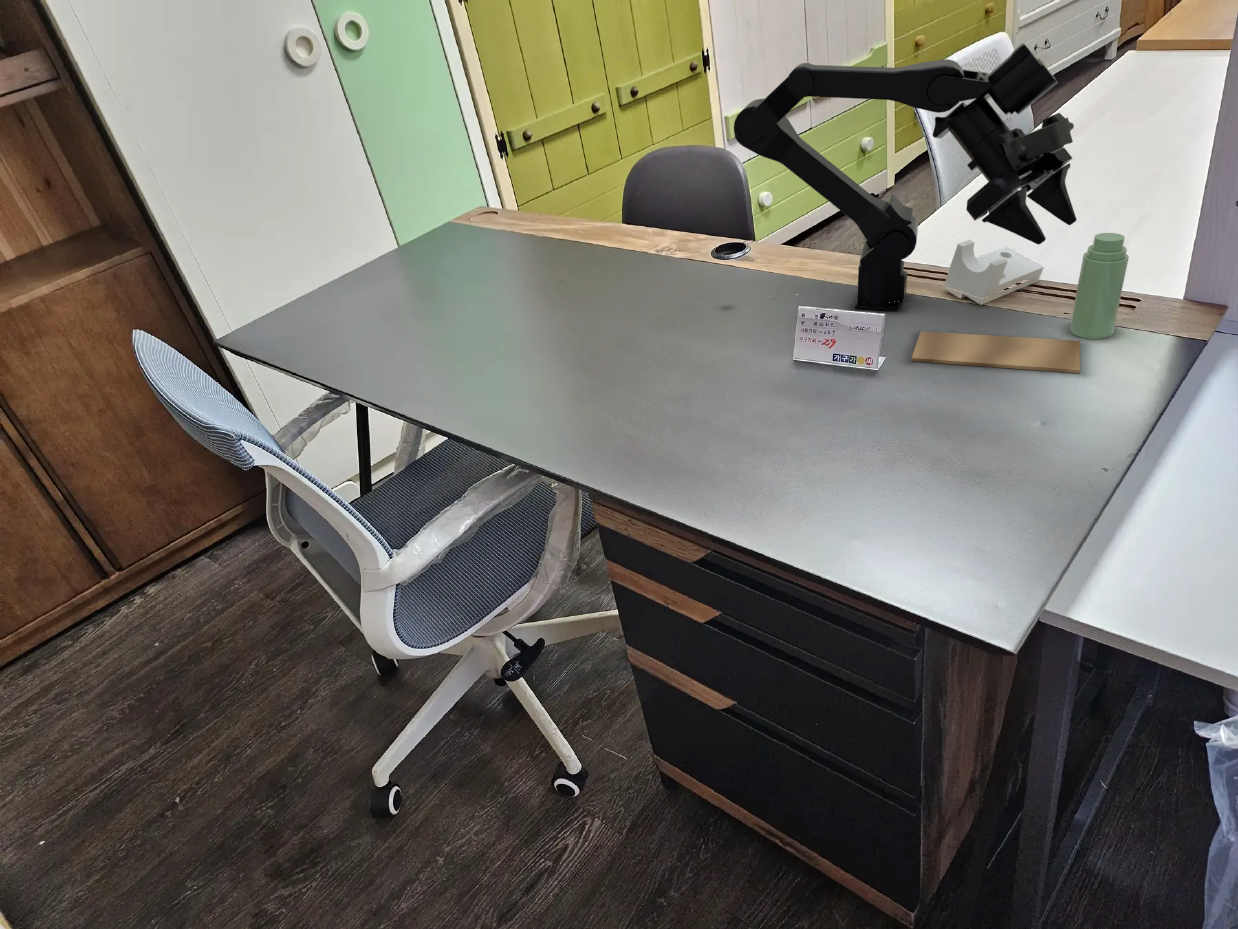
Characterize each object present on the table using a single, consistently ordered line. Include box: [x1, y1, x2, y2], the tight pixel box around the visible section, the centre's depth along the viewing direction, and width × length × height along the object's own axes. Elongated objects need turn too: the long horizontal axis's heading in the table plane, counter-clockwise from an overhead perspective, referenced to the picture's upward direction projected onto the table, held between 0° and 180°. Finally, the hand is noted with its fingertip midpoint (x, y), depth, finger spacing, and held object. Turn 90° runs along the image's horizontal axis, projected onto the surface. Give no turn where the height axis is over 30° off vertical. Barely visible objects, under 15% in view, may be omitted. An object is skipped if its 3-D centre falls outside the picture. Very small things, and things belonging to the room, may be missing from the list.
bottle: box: [1069, 232, 1130, 340], centre depth 111 cm, size 5×5×13 cm
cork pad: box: [910, 330, 1081, 374], centre depth 112 cm, size 20×9×1 cm, turn 66°
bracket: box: [943, 239, 1045, 306], centre depth 129 cm, size 13×7×8 cm, turn 121°
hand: (1058, 232), depth 112 cm, fingers open, 9 cm apart
